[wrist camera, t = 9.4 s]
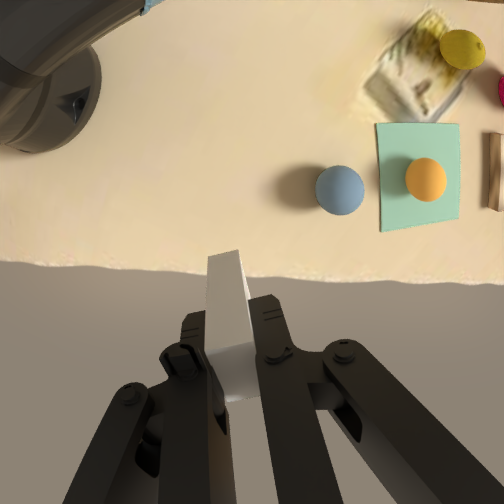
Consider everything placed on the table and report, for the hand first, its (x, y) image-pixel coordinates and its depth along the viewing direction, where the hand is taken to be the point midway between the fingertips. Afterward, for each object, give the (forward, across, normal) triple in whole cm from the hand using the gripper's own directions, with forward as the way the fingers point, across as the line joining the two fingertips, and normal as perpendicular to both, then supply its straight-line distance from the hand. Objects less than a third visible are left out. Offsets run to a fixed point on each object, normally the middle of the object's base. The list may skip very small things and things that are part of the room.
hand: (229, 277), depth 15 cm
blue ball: (+18, +12, -3) cm, 22 cm away
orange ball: (+18, +24, -3) cm, 30 cm away
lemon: (+21, +33, +13) cm, 41 cm away
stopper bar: (+20, +42, -4) cm, 47 cm away
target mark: (+20, +26, -4) cm, 33 cm away
